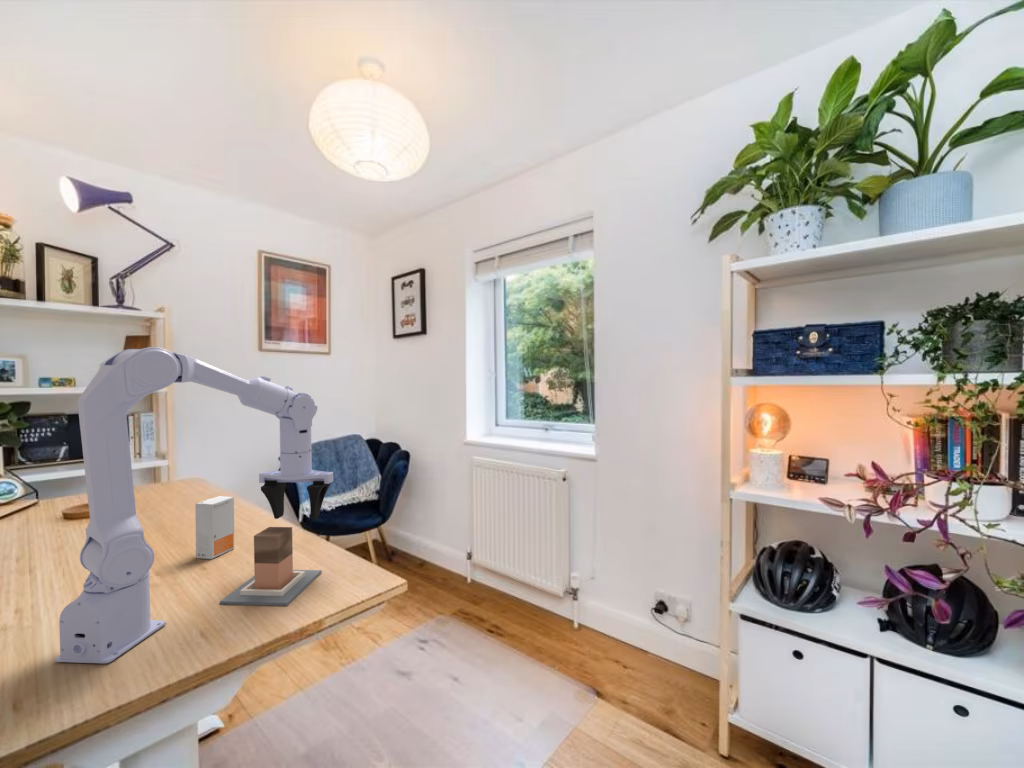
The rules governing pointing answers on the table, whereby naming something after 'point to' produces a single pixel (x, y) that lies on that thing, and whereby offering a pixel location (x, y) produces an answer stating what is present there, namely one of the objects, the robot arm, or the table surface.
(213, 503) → the skincare box
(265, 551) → the walnut block
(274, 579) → the terracotta block
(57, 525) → the table surface
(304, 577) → the board
